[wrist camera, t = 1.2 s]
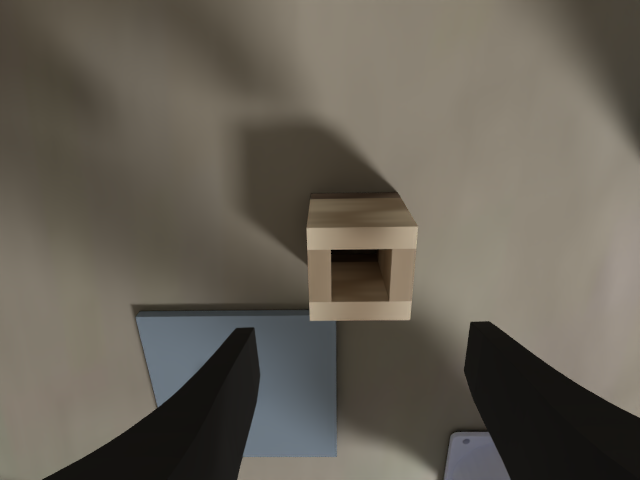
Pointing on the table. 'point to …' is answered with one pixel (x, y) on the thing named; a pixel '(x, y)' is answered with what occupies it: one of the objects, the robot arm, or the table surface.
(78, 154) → the table surface
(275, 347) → the pin plate
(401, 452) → the table surface
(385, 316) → the sleeve
